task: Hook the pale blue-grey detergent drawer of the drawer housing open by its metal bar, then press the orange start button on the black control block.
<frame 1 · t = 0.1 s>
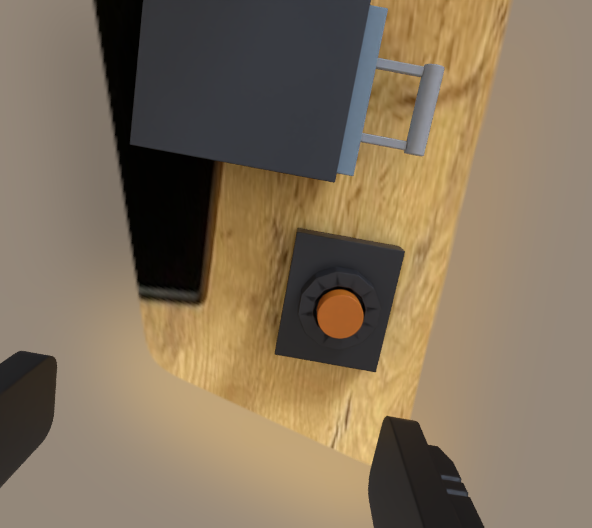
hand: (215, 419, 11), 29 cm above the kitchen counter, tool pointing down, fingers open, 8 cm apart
control block: (336, 296, 41), on the kitchen counter
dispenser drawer: (311, 91, 33), point 4 cm above the kitchen counter, slide at 0.0 cm
start button: (339, 313, 36), point 4 cm above the kitchen counter, slide at 0.1 cm
drawer housing: (259, 89, 37), on the kitchen counter
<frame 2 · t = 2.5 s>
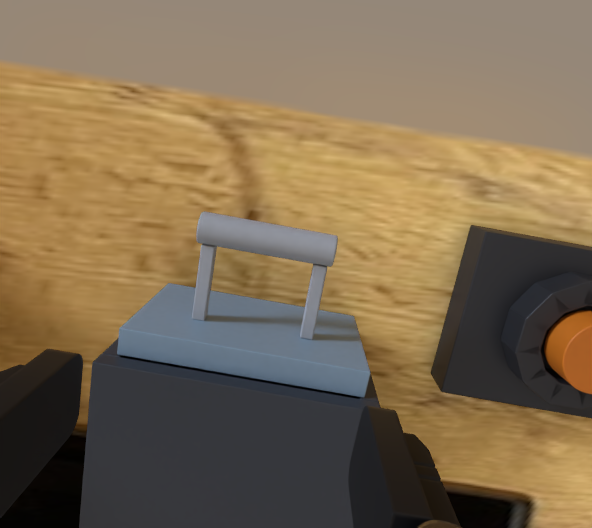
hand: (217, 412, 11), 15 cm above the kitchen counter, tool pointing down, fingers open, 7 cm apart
control block: (543, 319, 26), on the kitchen counter
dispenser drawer: (243, 391, 23), point 4 cm above the kitchen counter, slide at 0.0 cm
start button: (591, 351, 22), point 4 cm above the kitchen counter, slide at 0.1 cm
drawer housing: (242, 417, 28), on the kitchen counter
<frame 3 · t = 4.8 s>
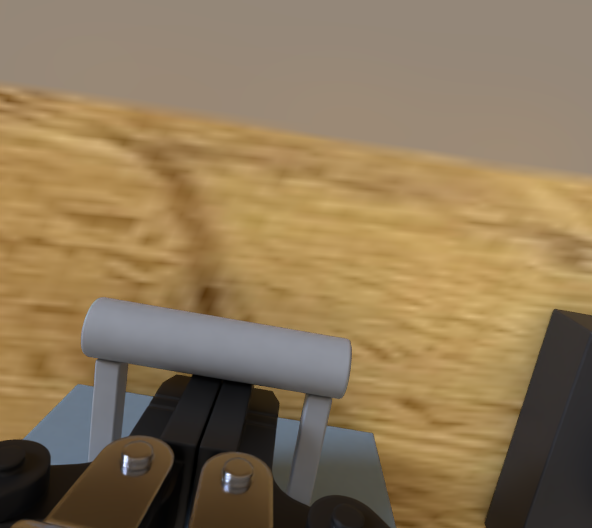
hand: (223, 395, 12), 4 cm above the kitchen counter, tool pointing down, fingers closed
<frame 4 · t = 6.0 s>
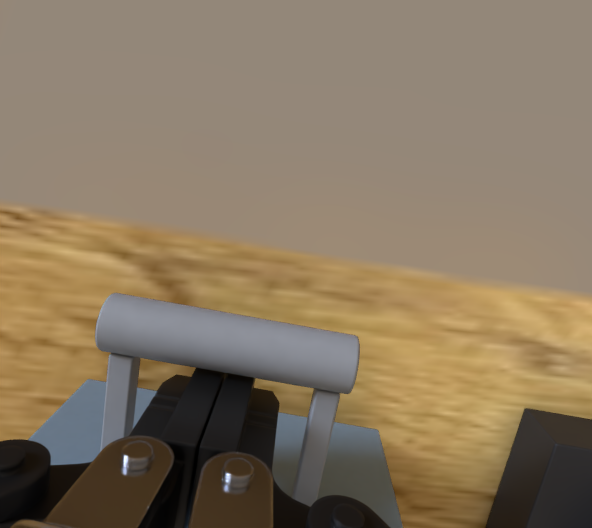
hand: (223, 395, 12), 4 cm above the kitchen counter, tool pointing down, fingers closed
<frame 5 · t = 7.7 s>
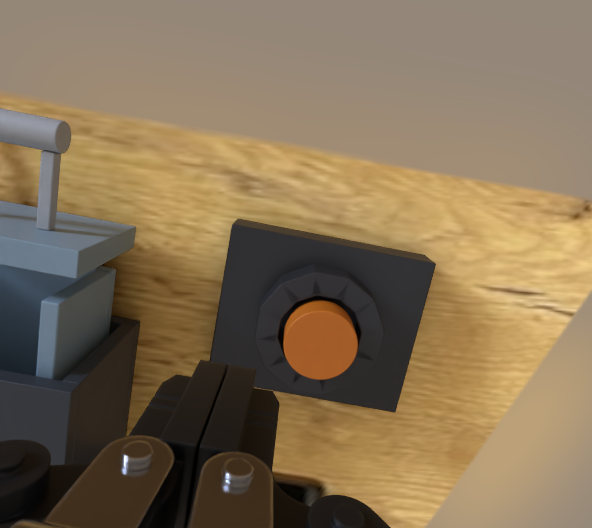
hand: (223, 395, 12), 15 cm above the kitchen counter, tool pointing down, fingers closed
control block: (316, 310, 27), on the kitchen counter
start button: (319, 339, 23), point 4 cm above the kitchen counter, slide at 0.1 cm
drawer housing: (35, 404, 29), on the kitchen counter
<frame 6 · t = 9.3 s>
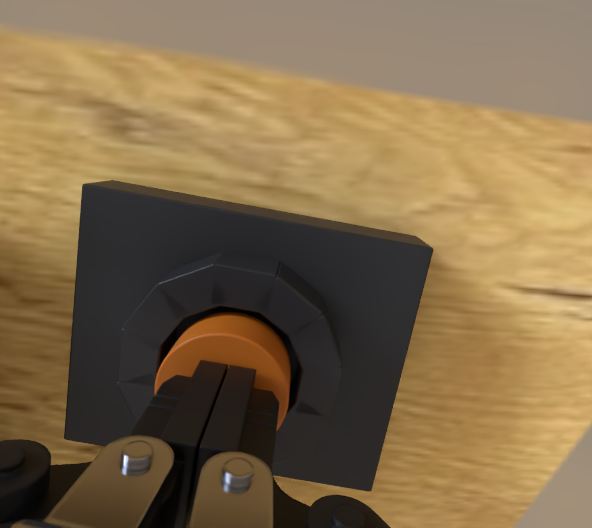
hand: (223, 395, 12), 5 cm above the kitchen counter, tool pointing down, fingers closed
control block: (246, 325, 17), on the kitchen counter
start button: (226, 381, 13), point 4 cm above the kitchen counter, slide at 0.0 cm, touching gripper
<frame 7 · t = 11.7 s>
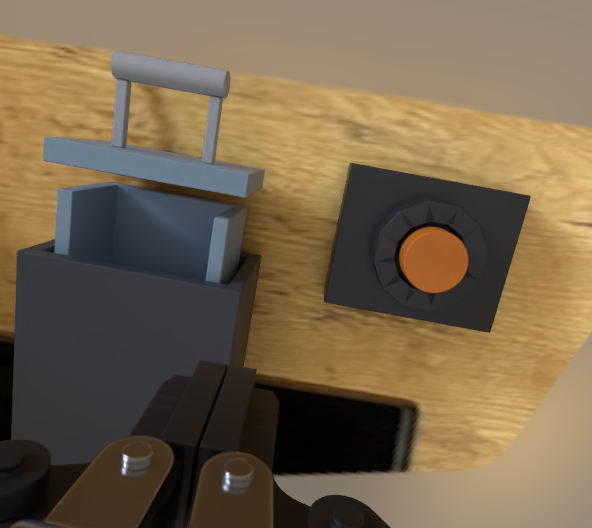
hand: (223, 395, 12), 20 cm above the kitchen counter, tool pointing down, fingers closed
control block: (416, 244, 31), on the kitchen counter
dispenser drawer: (161, 220, 27), point 4 cm above the kitchen counter, slide at 4.6 cm
start button: (432, 259, 26), point 4 cm above the kitchen counter, slide at 0.1 cm
drawer housing: (168, 331, 33), on the kitchen counter
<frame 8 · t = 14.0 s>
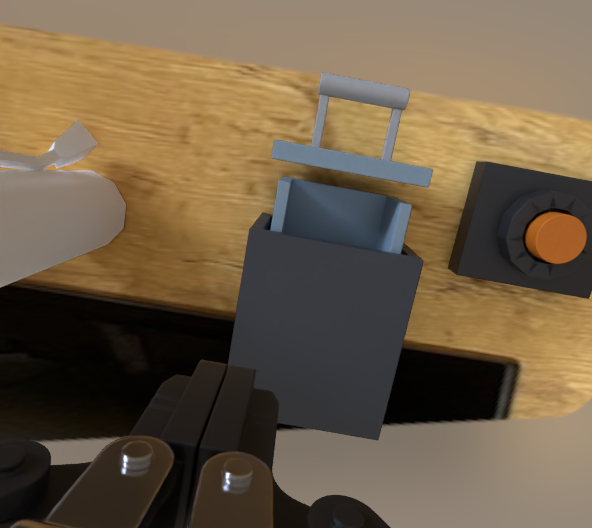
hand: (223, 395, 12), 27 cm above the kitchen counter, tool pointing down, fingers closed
control block: (526, 228, 38), on the kitchen counter
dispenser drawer: (338, 206, 33), point 4 cm above the kitchen counter, slide at 4.6 cm
start button: (554, 237, 33), point 4 cm above the kitchen counter, slide at 0.1 cm
fire extinguisher: (92, 196, 38), on the kitchen counter
drawer housing: (315, 301, 40), on the kitchen counter
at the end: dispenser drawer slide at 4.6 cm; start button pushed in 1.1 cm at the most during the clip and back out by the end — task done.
